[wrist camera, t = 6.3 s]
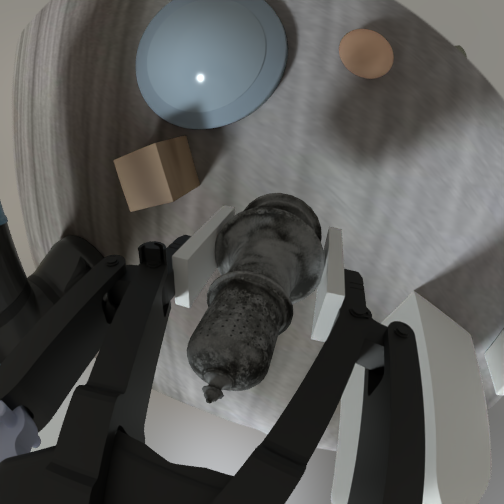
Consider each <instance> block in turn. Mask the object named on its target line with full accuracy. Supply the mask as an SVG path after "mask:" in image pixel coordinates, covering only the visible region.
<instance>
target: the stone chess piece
mask: <svg viewBox="0 0 504 504" xmlns="http://www.w3.org/2000/svg"><path fill="white" fill-rule="evenodd" d="M215 259H216V264H217V268H218V270H219V272H220V274H221V276H220V277H218V278H217V279H216V280H215V281H214V282H213V283H212V284H211V286H210V288H209V290H208V293H207V304H208V309H207V311H206V312H205V314H204V316H203V318H202V319H201V321H200V323H199V324H198V326H197V328H196V329H195V331H194V333H193V334H192V336H191V338H190V341H189V343H188V347H187V357H188V360H189V364H190V366H191V368H192V369H193V371H194V372H195V373H196V374H197V375H198V376H199V377H200V378H201V379H202V380H203V381H205V382H206V383H208V384H209V385H208V386H204V387H203V388H202V390H203V392H204V397H205V398H206V402H207V403H212V402H214V401H217V399H221V398H223V396H224V395H223V393H222V391H221V390H228V391H242V390H248V389H250V388H252V387H254V386H256V385H257V384H259V383H260V382H261V381H262V380H263V379H264V378H265V376H266V374H267V373H268V369H269V366H270V362H271V359H272V355H273V351H274V348H275V344H276V340H277V337H278V335H280V334H281V333H283V332H284V331H285V330H286V329H287V328H288V326H289V325H290V324H291V320H292V317H293V305H292V304H294V303H296V302H299V301H301V300H303V299H305V298H306V297H307V296H309V295H310V294H311V293H312V292H313V291H314V290H315V289H316V287H317V286H318V285H319V283H320V281H321V278H322V274H323V271H324V267H325V254H324V251H323V248H322V245H321V226H320V223H319V220H318V217H317V216H316V214H315V213H314V211H313V210H312V209H311V207H309V206H308V205H307V204H306V203H305V202H304V201H302V200H300V199H298V198H296V197H294V196H292V195H288V194H283V193H272V194H267V195H264V196H261V197H258V198H257V199H255V200H254V201H252V202H251V203H250V204H249V205H248V206H247V207H246V209H245V210H244V211H243V212H240V213H238V214H237V215H235V216H234V217H232V218H231V219H230V220H228V221H227V223H226V224H225V225H224V226H223V228H222V229H221V230H220V232H219V234H218V237H217V240H216V243H215Z"/></svg>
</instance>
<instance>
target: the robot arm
mask: <svg viewBox="0 0 504 504" xmlns="http://www.w3.org/2000/svg"><path fill="white" fill-rule="evenodd" d="M234 214H235V207H230V206H225V205H223V206H222V207H221V208H220V209H219V210H218V211H217V212H216V213H215V214H214V215H213V216H212V217H211V218H210V219H209V220H208V221H207V222H206V223H205V224H204V225H203V226H201V227H200V228H199V229H198V230H197V231H196V232H195V233H194V234H193V235H192V236H188V235H183V236H181V237H179V238H177V239H176V240H175V241H174V242H173V243H171V244H170V245H169V247H167V248H166V246H165V245H164V244H163V243H161V242H156V241H154V242H146V243H144V244H142V245H140V246H139V247H138V250H139V259H140V264H139V265H126V262H125V259H124V257H122V256H120V255H110V256H108V257H105V258H103V257H102V255H101V254H100V253H99V252H98V251H97V250H96V249H95V248H94V247H93V246H92V245H91V244H89V243H88V242H87V241H85V240H84V239H82V238H80V237H77V236H73V235H70V236H66V237H64V238H63V239H61V240H60V241H58V242H56V243H55V244H54V245H53V246H52V248H51V250H50V251H49V252H48V254H47V255H46V256H45V258H44V259H43V260H42V262H41V263H40V265H39V266H38V268H37V269H36V271H35V272H34V273H33V274H32V275H31V276H29V277H28V278H27V277H26V275H25V272H24V270H23V267H22V265H21V262H20V259H19V257H18V254H17V251H16V248H15V246H14V243H13V240H12V237H11V234H10V230H9V227H8V224H7V222H8V220H7V217H6V216H5V215H4V212H3V208H2V205H1V202H0V504H285V502H286V501H287V499H288V498H289V496H290V495H291V493H292V492H293V490H294V489H295V487H296V485H297V484H298V482H299V481H300V479H301V477H302V475H303V474H304V472H305V469H306V465H307V463H308V461H309V459H310V457H311V456H312V454H313V452H314V450H315V448H316V447H317V445H318V443H319V441H320V439H321V437H322V436H323V434H324V432H325V430H326V428H327V426H328V424H329V422H330V420H331V418H332V416H333V414H334V412H335V410H336V407H337V405H338V403H339V401H340V399H341V397H342V394H343V392H344V390H345V388H346V385H347V383H348V381H349V378H350V376H351V373H352V371H353V368H354V366H355V363H356V364H358V365H361V366H363V367H365V375H364V391H363V404H362V415H361V424H360V433H359V441H358V448H357V455H356V461H355V467H354V473H353V479H352V484H351V489H350V494H349V498H348V503H347V504H422V502H423V492H424V478H425V416H424V401H423V389H422V380H421V371H420V363H419V356H418V350H417V343H416V338H415V333H414V331H413V329H412V328H411V327H410V326H409V325H407V324H406V323H403V322H400V321H394V322H391V323H390V324H389V325H388V327H387V326H385V325H383V324H380V323H378V322H376V321H375V320H373V319H372V314H371V312H370V310H369V309H368V308H367V307H366V301H365V293H364V286H363V278H362V277H361V275H360V274H359V272H356V271H351V270H347V269H344V258H343V242H342V229H338V228H334V227H329V230H328V234H327V238H326V242H325V246H324V250H323V251H324V254H325V267H324V271H323V274H322V278H321V281H320V283H319V285H318V286H317V295H316V304H315V312H314V320H313V327H312V334H311V339H313V340H317V341H322V342H325V343H324V345H323V347H322V349H321V351H320V352H319V354H318V356H317V358H316V359H315V361H314V363H313V365H312V366H311V368H310V370H309V371H308V373H307V375H306V377H305V378H304V380H303V382H302V383H301V385H300V386H299V388H298V390H297V391H296V393H295V394H294V396H293V398H292V399H291V401H290V402H289V404H288V405H287V407H286V409H285V410H284V412H283V413H282V415H281V416H280V418H279V419H278V421H277V422H276V423H275V425H274V426H273V428H272V429H271V431H270V432H269V434H268V435H267V436H266V438H265V439H264V441H263V442H262V443H261V444H260V445H259V446H258V447H257V448H256V449H255V450H254V451H253V453H252V454H251V455H250V457H249V458H248V459H247V461H246V462H245V463H244V464H243V466H242V467H241V468H240V470H239V471H238V472H237V473H236V474H235V476H231V475H227V474H224V473H220V472H217V471H214V470H210V469H207V468H202V467H194V466H186V465H179V464H173V463H170V462H168V461H167V460H165V459H164V458H163V457H161V456H160V455H159V454H157V453H156V452H155V451H153V450H152V449H151V448H149V447H148V446H147V445H146V444H145V435H144V424H145V419H146V413H147V408H148V403H149V398H150V393H151V389H152V384H153V379H154V375H155V370H156V366H157V362H158V357H159V353H160V349H161V345H162V341H163V337H164V333H165V329H166V325H167V321H168V317H169V313H170V310H171V302H170V300H171V299H172V298H173V297H174V295H175V303H176V304H177V305H181V306H184V307H187V308H190V307H191V305H192V304H193V302H194V301H195V299H196V298H197V296H198V295H199V293H200V292H201V290H202V289H203V287H204V286H205V285H206V283H207V282H208V280H209V279H210V277H211V276H212V274H213V273H214V271H215V270H216V268H217V264H216V259H215V243H216V240H217V237H218V234H219V232H220V230H221V229H222V228H223V226H224V225H225V224H226V223H227V221H228V220H230V219H231V218H232V217H234ZM99 350H100V351H99ZM98 351H99V353H98V356H97V358H96V361H95V363H94V366H93V369H92V371H91V374H90V377H89V379H88V382H87V384H85V385H79V386H78V387H76V389H75V391H74V393H73V396H72V398H71V401H70V404H69V407H68V410H67V413H66V415H65V418H64V422H63V425H62V428H61V431H60V434H59V438H58V441H57V444H56V446H52V447H49V448H46V449H41V450H38V451H34V452H30V451H31V448H32V447H33V448H37V447H39V445H40V444H41V439H40V437H39V436H38V432H39V431H41V430H42V429H43V428H44V427H45V426H46V425H47V424H48V422H49V421H50V420H51V419H52V417H53V416H54V415H55V413H56V412H57V410H58V409H59V407H60V406H61V404H62V403H63V401H64V400H65V398H66V396H67V395H68V394H69V392H70V391H71V389H72V388H73V386H74V385H75V383H76V382H77V380H78V379H79V378H80V376H81V375H82V373H83V372H84V370H85V369H86V367H87V366H88V365H89V363H90V362H91V361H92V359H93V358H94V357H95V355H96V354H97V352H98Z"/></svg>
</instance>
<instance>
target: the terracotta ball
mask: <svg viewBox="0 0 504 504" xmlns="http://www.w3.org/2000/svg"><path fill="white" fill-rule="evenodd" d="M339 54H340V58H341V60H342V62H343V64H344V65H345V67H346V68H347V69H348V70H349V71H350V72H352V73H353V74H355V75H357V76H359V77H362V78H367V79H374V78H378V77H381V76H383V75H385V74H386V73H387V72H388V71H389V70H390V69H391V67H392V64H393V59H394V56H393V51H392V48H391V46H390V44H389V43H388V41H387V40H386V39H385V38H384V37H383V36H382V35H380V34H379V33H377V32H375V31H372V30H368V29H356V30H353V31H350V32H349V33H347V34H346V35H345V36H344V37H343V38H342V40H341V42H340V46H339Z"/></svg>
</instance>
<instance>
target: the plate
mask: <svg viewBox="0 0 504 504" xmlns="http://www.w3.org/2000/svg"><path fill="white" fill-rule="evenodd" d="M287 57H288V43H287V36H286V33H285V30H284V27H283V25H282V23H281V21H280V19H279V18H278V16H277V15H276V13H275V12H274V11H273V9H272V8H271V7H270V6H269V5H268V4H267V3H266V2H265V1H264V0H172V1H171V2H170V3H168V4H167V5H166V6H165V7H164V8H162V9H161V10H160V11H159V12H158V13H157V14H156V16H155V17H154V18H153V19H152V21H151V22H150V23H149V25H148V26H147V28H146V30H145V32H144V34H143V36H142V38H141V41H140V43H139V47H138V50H137V56H136V77H137V82H138V86H139V89H140V92H141V94H142V96H143V98H144V100H145V101H146V102H147V104H148V105H149V107H150V108H151V109H152V110H153V111H154V112H155V113H156V114H157V115H159V116H160V117H161V118H163V119H164V120H166V121H168V122H170V123H172V124H174V125H177V126H180V127H184V128H190V129H209V128H216V127H221V126H225V125H229V124H231V123H234V122H237V121H239V120H241V119H243V118H245V117H247V116H248V115H250V114H251V113H253V112H254V111H256V110H257V109H258V108H259V107H260V106H261V105H263V104H264V103H265V102H266V101H267V99H268V98H269V97H270V96H271V95H272V93H273V92H274V91H275V89H276V88H277V86H278V84H279V82H280V80H281V78H282V76H283V73H284V70H285V67H286V63H287Z"/></svg>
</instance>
